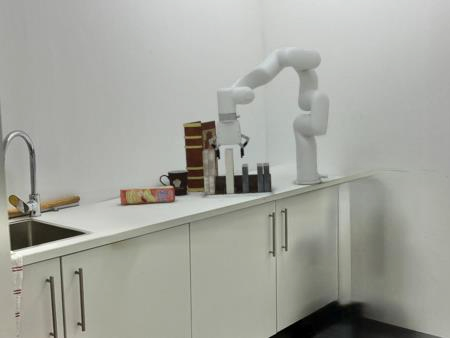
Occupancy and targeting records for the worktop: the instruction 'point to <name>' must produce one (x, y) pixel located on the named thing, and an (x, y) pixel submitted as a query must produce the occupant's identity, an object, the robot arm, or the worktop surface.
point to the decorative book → (198, 151)
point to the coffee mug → (178, 181)
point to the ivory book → (229, 171)
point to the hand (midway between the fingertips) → (230, 158)
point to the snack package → (147, 194)
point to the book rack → (235, 178)
